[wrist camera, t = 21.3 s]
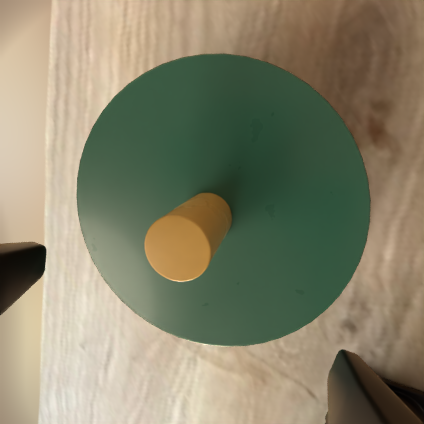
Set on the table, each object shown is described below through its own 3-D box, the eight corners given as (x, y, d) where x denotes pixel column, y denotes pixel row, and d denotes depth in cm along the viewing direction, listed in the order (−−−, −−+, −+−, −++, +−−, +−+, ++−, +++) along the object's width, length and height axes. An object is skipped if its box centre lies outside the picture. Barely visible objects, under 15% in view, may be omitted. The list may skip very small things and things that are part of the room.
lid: (417, 97, 12) (523, 64, 7) (306, 370, 16) (319, 481, 11) (106, 32, 14) (4, -30, 9) (76, 286, 18) (-6, 346, 13)
